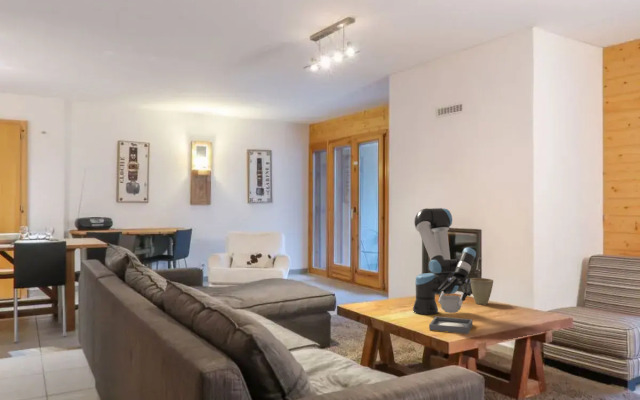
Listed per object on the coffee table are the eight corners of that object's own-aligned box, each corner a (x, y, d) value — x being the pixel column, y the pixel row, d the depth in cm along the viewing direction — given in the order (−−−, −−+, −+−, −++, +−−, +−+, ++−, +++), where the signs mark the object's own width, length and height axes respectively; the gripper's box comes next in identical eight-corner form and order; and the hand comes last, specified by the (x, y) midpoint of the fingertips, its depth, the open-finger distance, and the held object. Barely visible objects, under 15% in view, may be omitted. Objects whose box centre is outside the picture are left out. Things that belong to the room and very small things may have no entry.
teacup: (461, 314, 259) (461, 299, 259) (440, 313, 261) (440, 298, 261) (460, 308, 272) (460, 294, 272) (440, 308, 275) (440, 293, 275)
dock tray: (429, 330, 262) (429, 324, 262) (435, 321, 280) (435, 316, 280) (468, 333, 254) (468, 327, 254) (472, 324, 272) (472, 319, 272)
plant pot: (480, 306, 321) (480, 281, 321) (465, 302, 334) (465, 278, 334) (498, 304, 327) (498, 280, 327) (482, 300, 340) (482, 277, 340)
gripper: (484, 277, 270) (472, 310, 258) (445, 274, 286) (432, 305, 274) (480, 268, 266) (467, 302, 254) (440, 265, 282) (427, 297, 270)
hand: (449, 303), depth 264 cm, fingers closed on teacup, 11 cm apart
